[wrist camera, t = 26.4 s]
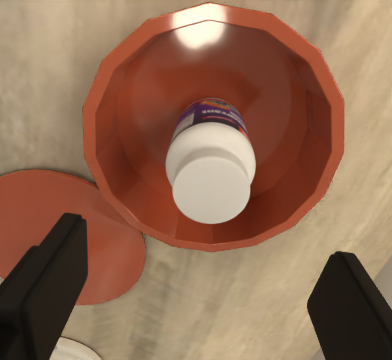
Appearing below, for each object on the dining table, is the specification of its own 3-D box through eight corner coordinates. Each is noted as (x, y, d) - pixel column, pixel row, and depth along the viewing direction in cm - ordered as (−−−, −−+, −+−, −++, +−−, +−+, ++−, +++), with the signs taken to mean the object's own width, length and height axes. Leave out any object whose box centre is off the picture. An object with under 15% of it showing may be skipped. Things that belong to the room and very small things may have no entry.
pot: (279, 222, 28) (294, 264, 23) (108, 196, 27) (87, 234, 22) (351, 32, 20) (396, 36, 15) (109, -12, 19) (76, -22, 14)
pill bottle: (258, 121, 23) (288, 183, 14) (217, 171, 25) (221, 249, 16) (201, 80, 21) (197, 121, 13) (164, 137, 23) (138, 203, 15)
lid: (141, 306, 35) (132, 346, 30) (-6, 286, 34) (-37, 324, 30) (153, 182, 26) (142, 213, 22) (-43, 151, 25) (-94, 178, 21)
